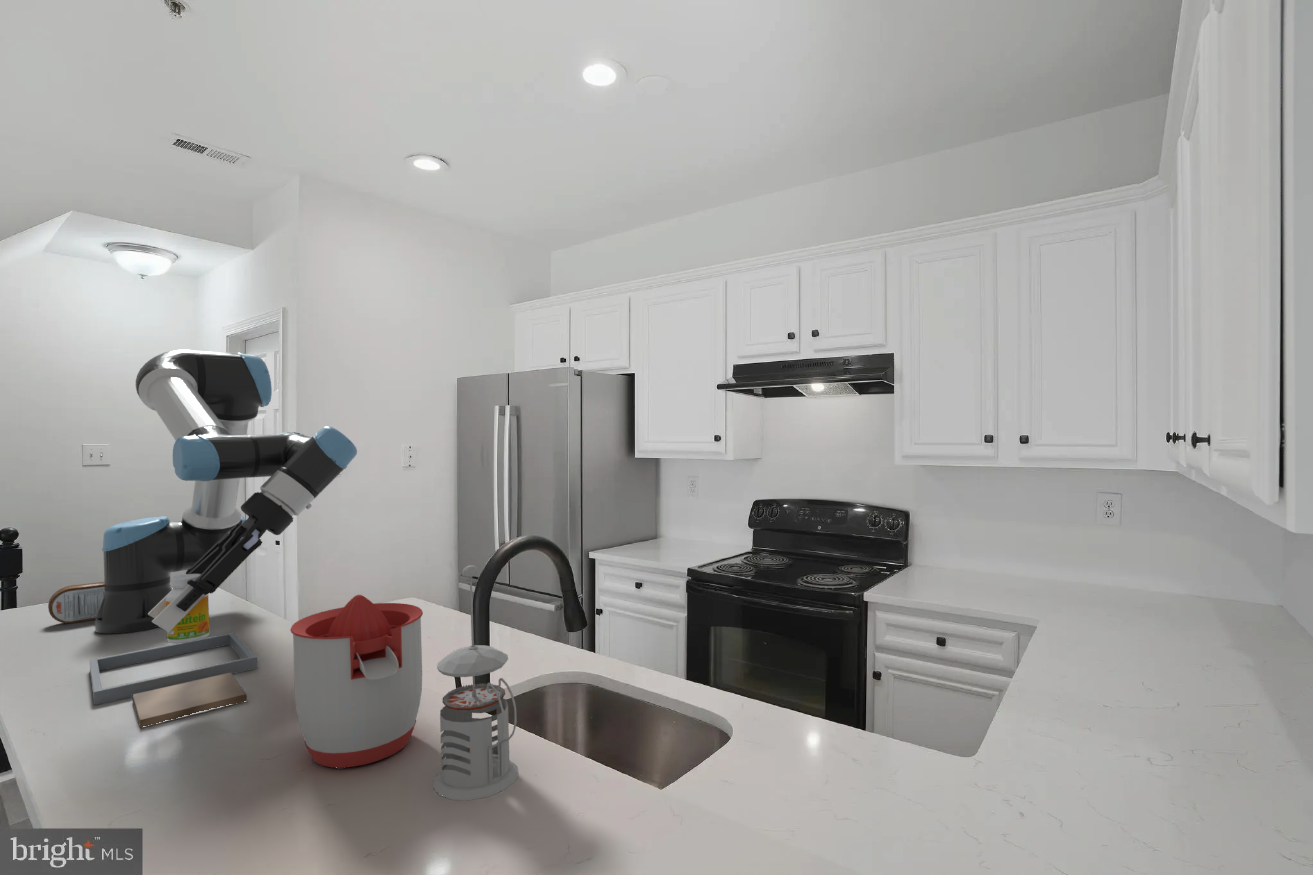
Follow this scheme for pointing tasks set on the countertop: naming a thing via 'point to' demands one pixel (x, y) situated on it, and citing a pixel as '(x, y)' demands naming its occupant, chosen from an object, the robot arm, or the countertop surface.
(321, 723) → the citrus juicer
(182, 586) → the supplement bottle
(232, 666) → the tray frame
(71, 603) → the tin
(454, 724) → the french press
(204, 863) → the countertop surface
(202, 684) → the walnut board
